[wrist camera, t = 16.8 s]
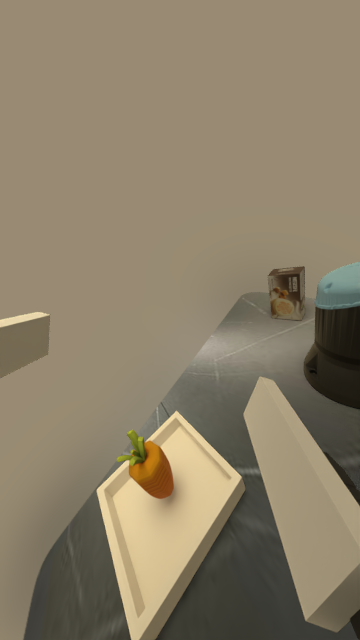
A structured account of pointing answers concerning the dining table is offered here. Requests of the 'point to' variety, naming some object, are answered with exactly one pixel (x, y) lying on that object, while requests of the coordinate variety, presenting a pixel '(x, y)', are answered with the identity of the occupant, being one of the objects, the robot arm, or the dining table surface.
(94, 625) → the dining table surface
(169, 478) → the carrot
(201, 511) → the tray
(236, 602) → the dining table surface
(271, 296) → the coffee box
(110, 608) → the dining table surface
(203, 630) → the dining table surface
